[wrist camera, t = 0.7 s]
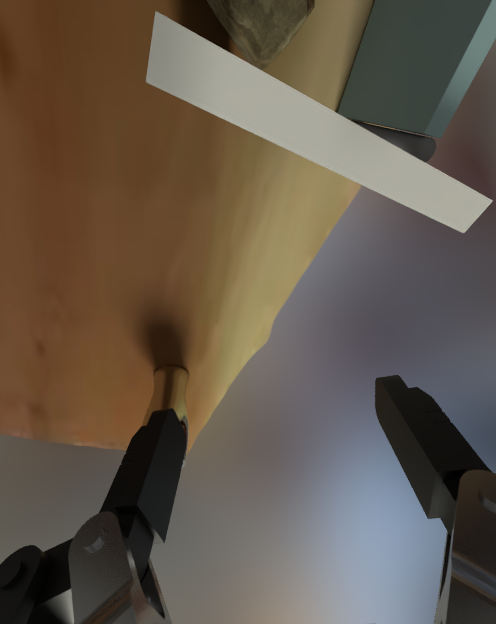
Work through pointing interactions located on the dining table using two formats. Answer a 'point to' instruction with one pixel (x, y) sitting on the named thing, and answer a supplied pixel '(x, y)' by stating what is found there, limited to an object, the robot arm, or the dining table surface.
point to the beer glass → (170, 395)
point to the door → (417, 68)
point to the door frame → (302, 124)
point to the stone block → (261, 25)
